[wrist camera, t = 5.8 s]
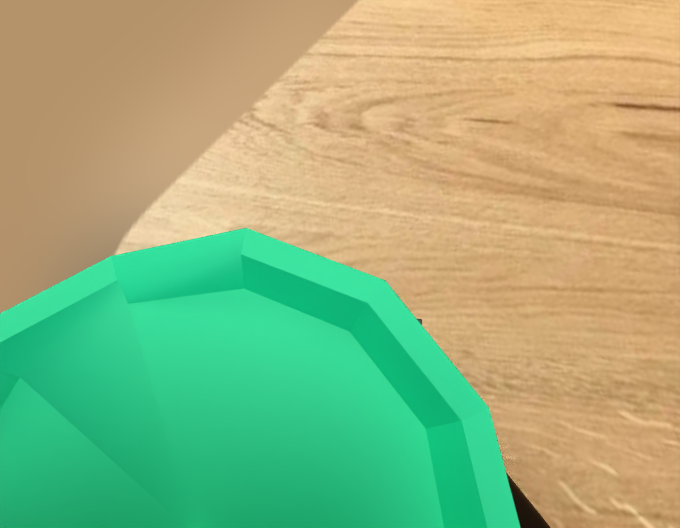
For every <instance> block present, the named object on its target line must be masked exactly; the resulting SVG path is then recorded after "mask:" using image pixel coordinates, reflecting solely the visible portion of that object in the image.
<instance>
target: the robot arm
mask: <svg viewBox="0 0 680 528" xmlns="http://www.w3.org/2000/svg"><path fill="white" fill-rule="evenodd" d="M506 474H507V473H506ZM507 478H508V482H509V486H510V490H511V493H512V497H513V501H514V505H515V509H516V512H517V516H518V520H519V524H520V528H550V526H549V525H548V524H547V523H546V521H545V520H544V519H543V518H542V516H541V515H540V514H539V513H538V511H537V510H536V509H535V508H534V507H533V505H532V504H531V503H530V502H529V500H528V499H527V498H526V497H525V495H524V494H523V493H522V492H521V490H520V489H519V488H518V487H517V485H516V484H515V483H514V482H513V480H512V479H511V478H510V477H509V475H508V474H507Z"/></svg>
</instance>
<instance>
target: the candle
mask: <svg viewBox="0 0 680 528" xmlns="http://www.w3.org/2000/svg"><path fill="white" fill-rule="evenodd" d="M0 528H520V524H519V520H518V516H517V512H516V509H515V505H514V501H513V497H512V493H511V490H510V486H509V482H508V478H507V474H506V471H505V467H504V463H503V459H502V455H501V452H500V448H499V444H498V440H497V436H496V433H495V429H494V425H493V421H492V417H491V414H490V410H489V407H488V406H487V405H486V404H485V402H484V401H483V400H482V399H481V398H480V396H479V395H478V394H477V393H476V391H475V390H474V389H473V388H472V387H471V385H470V384H469V383H468V382H467V380H466V379H465V378H464V377H463V375H462V374H461V373H460V372H459V371H458V369H457V368H456V367H455V366H454V364H453V363H452V362H451V361H450V360H449V358H448V357H447V356H446V355H445V353H444V352H443V351H442V350H441V348H440V347H439V346H438V345H437V344H436V342H435V341H434V340H433V339H432V337H431V336H430V335H429V334H428V333H427V331H426V330H425V329H424V328H423V326H422V325H421V324H420V323H419V321H418V320H417V319H416V318H415V317H414V315H413V314H412V313H411V312H410V310H409V309H408V308H407V307H406V306H405V304H404V303H403V302H402V301H401V299H400V298H399V297H398V296H397V294H396V293H395V292H394V291H393V290H392V288H391V287H390V286H389V285H388V283H387V282H386V281H385V280H383V279H380V278H377V277H375V276H372V275H369V274H367V273H364V272H361V271H359V270H356V269H353V268H351V267H348V266H346V265H343V264H340V263H338V262H335V261H332V260H330V259H327V258H324V257H322V256H319V255H316V254H314V253H311V252H308V251H306V250H303V249H300V248H298V247H295V246H293V245H290V244H287V243H285V242H282V241H279V240H277V239H274V238H271V237H269V236H266V235H263V234H261V233H258V232H255V231H253V230H250V229H247V228H244V229H239V230H234V231H229V232H225V233H220V234H215V235H210V236H205V237H201V238H196V239H191V240H186V241H181V242H177V243H172V244H167V245H162V246H157V247H153V248H148V249H143V250H138V251H133V252H129V253H124V254H119V255H114V256H110V257H108V258H106V259H105V260H102V261H101V262H99V263H97V264H95V265H93V266H91V267H89V268H87V269H85V270H83V271H81V272H79V273H78V274H75V275H73V276H72V277H70V278H68V279H66V280H64V281H62V282H60V283H58V284H56V285H54V286H53V287H50V288H49V289H47V290H45V291H43V292H41V293H39V294H37V295H35V296H33V297H31V298H29V299H27V300H25V301H23V302H21V303H19V304H18V305H16V306H14V307H12V308H10V309H8V310H6V311H4V312H2V313H0Z"/></svg>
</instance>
